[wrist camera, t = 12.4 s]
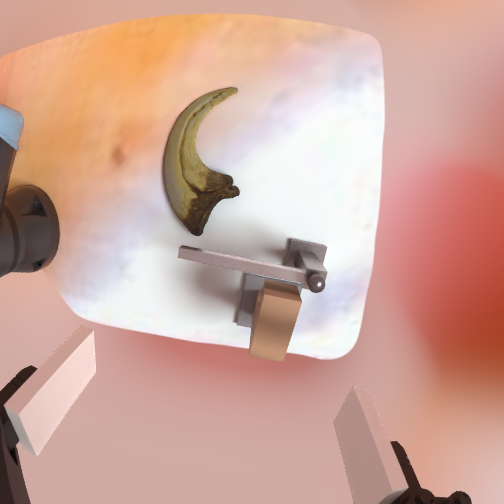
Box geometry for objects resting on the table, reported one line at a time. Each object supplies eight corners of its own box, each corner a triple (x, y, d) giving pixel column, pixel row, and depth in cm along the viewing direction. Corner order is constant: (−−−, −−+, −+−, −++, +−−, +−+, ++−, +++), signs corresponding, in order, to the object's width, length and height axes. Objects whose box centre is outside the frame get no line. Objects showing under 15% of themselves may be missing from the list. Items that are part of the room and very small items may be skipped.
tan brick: (279, 320, 44) (282, 361, 33) (252, 315, 44) (248, 355, 33) (292, 271, 42) (301, 302, 31) (264, 264, 42) (264, 294, 31)
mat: (236, 323, 45) (236, 324, 44) (246, 273, 43) (246, 274, 42) (288, 332, 45) (289, 334, 44) (302, 284, 43) (302, 285, 42)
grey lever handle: (192, 254, 42) (172, 277, 32) (198, 220, 41) (177, 233, 31) (317, 279, 42) (332, 309, 33) (326, 246, 41) (344, 267, 31)
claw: (242, 229, 42) (240, 233, 38) (170, 233, 42) (163, 237, 39) (236, 90, 37) (233, 82, 34) (165, 98, 38) (156, 92, 35)
